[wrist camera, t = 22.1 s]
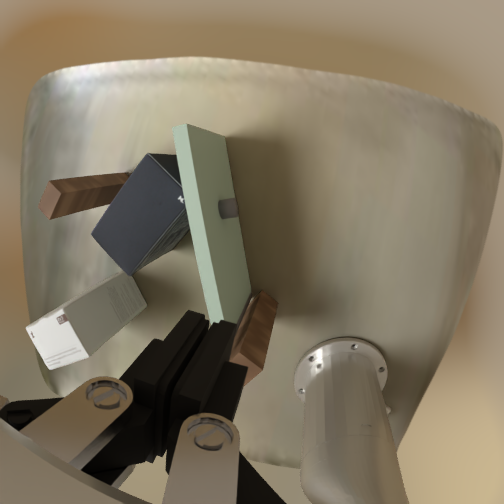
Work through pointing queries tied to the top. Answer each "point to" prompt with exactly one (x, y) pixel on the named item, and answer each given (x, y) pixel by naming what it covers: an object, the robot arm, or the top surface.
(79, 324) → the skincare box
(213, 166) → the door
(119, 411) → the robot arm
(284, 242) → the top surface
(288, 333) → the top surface
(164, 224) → the small box
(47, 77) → the top surface
